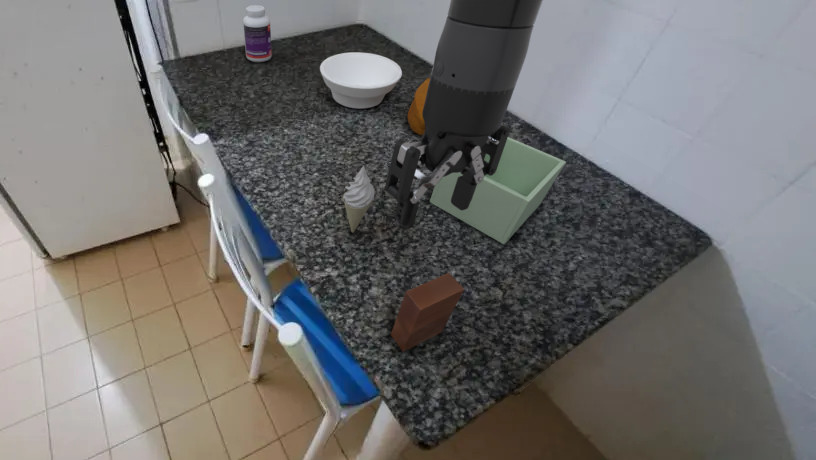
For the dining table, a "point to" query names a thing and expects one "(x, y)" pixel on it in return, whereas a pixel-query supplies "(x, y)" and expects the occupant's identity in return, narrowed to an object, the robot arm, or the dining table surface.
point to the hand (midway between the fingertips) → (432, 215)
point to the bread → (418, 109)
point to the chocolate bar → (426, 311)
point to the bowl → (360, 78)
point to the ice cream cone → (358, 198)
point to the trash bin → (504, 191)
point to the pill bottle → (257, 34)
